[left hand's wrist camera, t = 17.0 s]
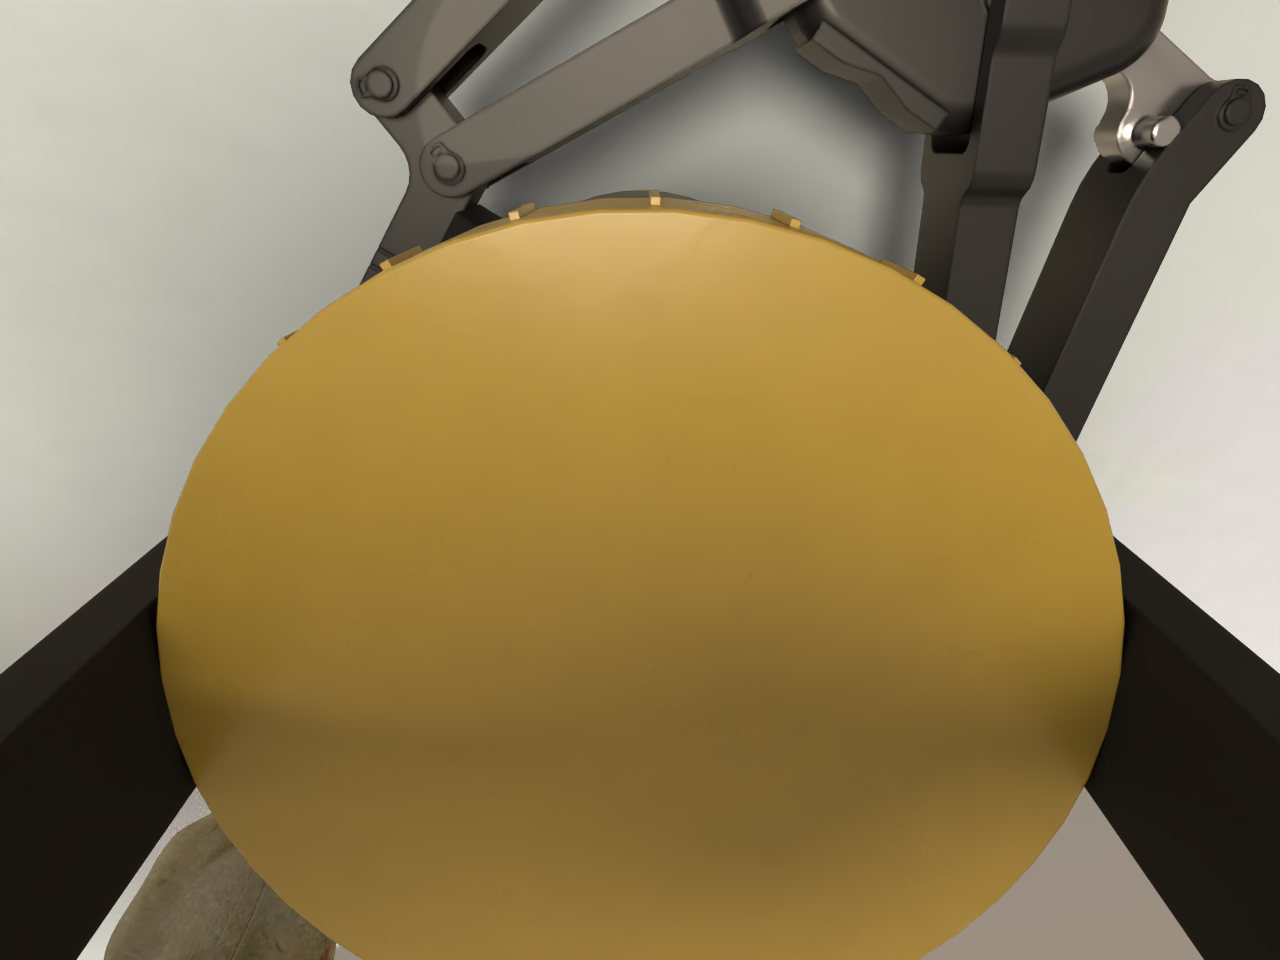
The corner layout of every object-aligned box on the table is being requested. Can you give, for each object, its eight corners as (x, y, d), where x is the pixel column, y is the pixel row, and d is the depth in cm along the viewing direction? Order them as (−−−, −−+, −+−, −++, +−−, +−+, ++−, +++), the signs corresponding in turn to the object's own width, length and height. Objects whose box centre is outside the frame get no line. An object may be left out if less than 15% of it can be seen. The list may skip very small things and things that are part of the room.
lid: (53, 591, 12) (-52, 671, 10) (684, -48, 9) (694, -94, 7) (612, 1024, 15) (608, 1145, 13) (1209, 649, 12) (1308, 737, 10)
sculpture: (235, 792, 32) (-76, 1289, 18) (276, 638, 30) (-46, 1075, 16) (385, 836, 33) (198, 1345, 19) (438, 689, 30) (267, 1149, 17)
